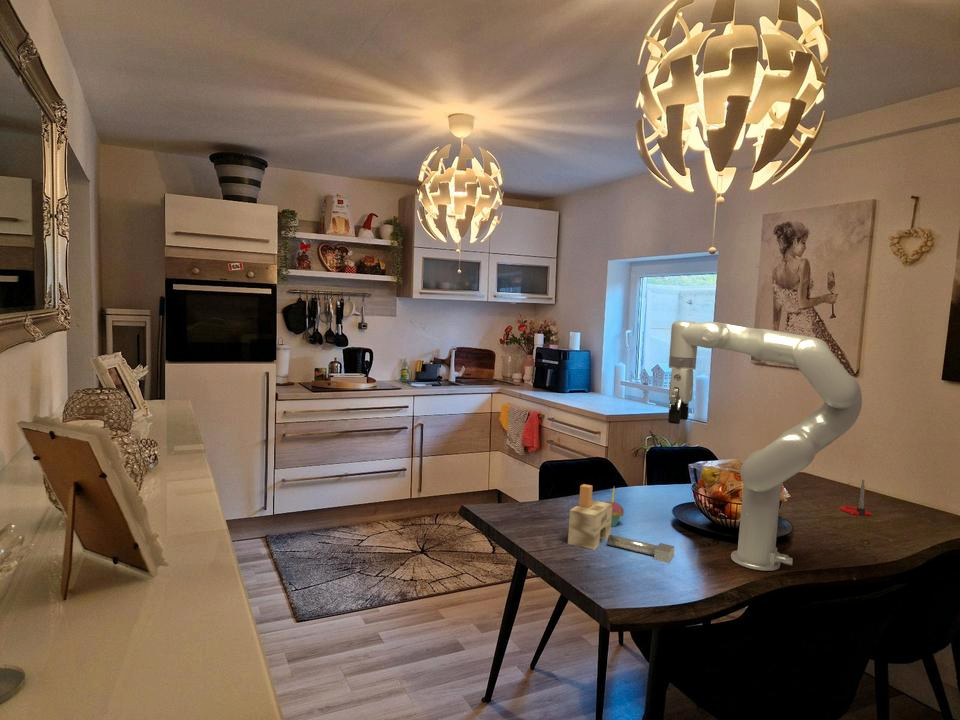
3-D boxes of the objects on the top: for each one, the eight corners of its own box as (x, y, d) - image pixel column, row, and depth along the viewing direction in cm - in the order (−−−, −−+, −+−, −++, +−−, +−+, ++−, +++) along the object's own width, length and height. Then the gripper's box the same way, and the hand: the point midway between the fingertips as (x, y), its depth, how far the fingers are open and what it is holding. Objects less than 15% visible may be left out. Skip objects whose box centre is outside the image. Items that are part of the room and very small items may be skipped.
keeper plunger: (591, 508, 188) (592, 485, 187) (587, 511, 185) (589, 487, 185) (582, 506, 189) (583, 484, 188) (578, 509, 187) (580, 486, 186)
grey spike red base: (835, 508, 234) (850, 515, 225) (837, 474, 234) (853, 479, 225) (857, 509, 235) (873, 516, 225) (859, 475, 234) (876, 480, 225)
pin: (673, 556, 177) (674, 546, 177) (668, 563, 172) (669, 552, 172) (612, 541, 186) (612, 532, 186) (605, 547, 181) (606, 537, 181)
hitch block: (610, 536, 191) (612, 504, 190) (593, 550, 179) (596, 515, 178) (585, 530, 195) (587, 498, 194) (567, 543, 183) (569, 510, 182)
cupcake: (601, 517, 208) (604, 482, 207) (626, 523, 204) (629, 487, 203) (592, 524, 201) (594, 487, 200) (618, 530, 196) (620, 492, 195)
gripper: (688, 366, 174) (684, 426, 176) (701, 363, 189) (697, 419, 190) (661, 363, 178) (657, 423, 179) (676, 361, 193) (672, 416, 194)
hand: (678, 421), depth 185 cm, fingers open, 9 cm apart
